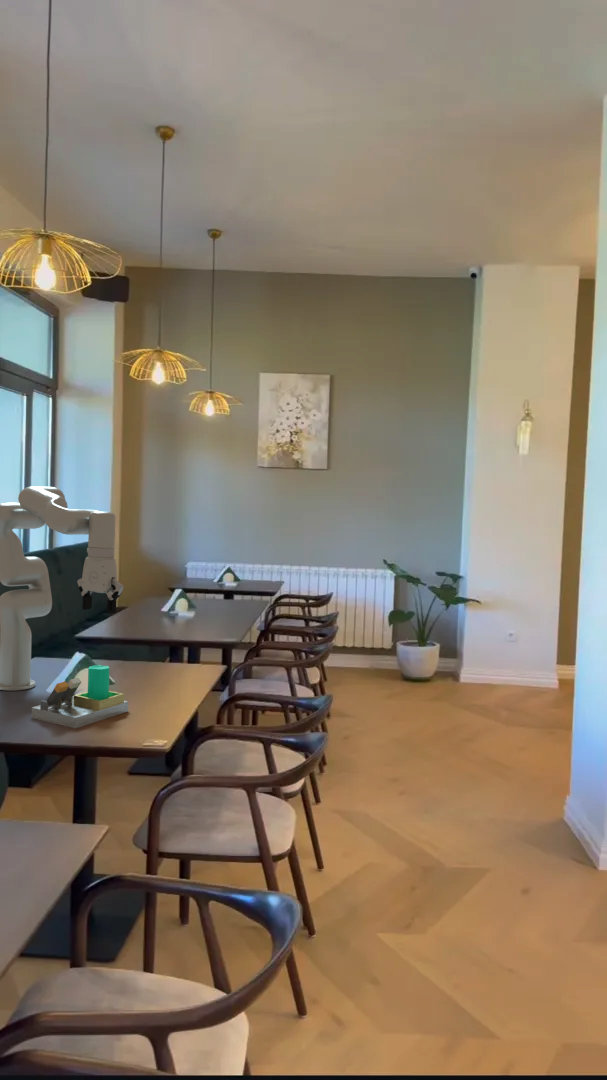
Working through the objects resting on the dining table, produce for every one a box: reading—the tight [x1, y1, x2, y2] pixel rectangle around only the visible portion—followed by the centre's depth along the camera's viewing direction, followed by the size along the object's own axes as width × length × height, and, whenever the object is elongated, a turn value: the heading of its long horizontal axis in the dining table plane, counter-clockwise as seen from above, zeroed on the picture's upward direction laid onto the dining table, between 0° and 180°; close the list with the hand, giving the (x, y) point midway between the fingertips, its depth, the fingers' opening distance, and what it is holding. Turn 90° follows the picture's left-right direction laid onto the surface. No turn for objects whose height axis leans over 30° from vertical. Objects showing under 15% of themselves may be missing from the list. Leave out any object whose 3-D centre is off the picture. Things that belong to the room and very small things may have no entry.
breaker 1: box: [46, 681, 69, 708], centre depth 214 cm, size 2×3×9 cm
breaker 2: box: [61, 677, 82, 704], centre depth 219 cm, size 2×3×9 cm
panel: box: [31, 690, 129, 730], centre depth 221 cm, size 17×21×6 cm
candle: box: [87, 664, 111, 700], centre depth 223 cm, size 6×6×12 cm
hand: (99, 611), depth 225 cm, fingers open, 9 cm apart
